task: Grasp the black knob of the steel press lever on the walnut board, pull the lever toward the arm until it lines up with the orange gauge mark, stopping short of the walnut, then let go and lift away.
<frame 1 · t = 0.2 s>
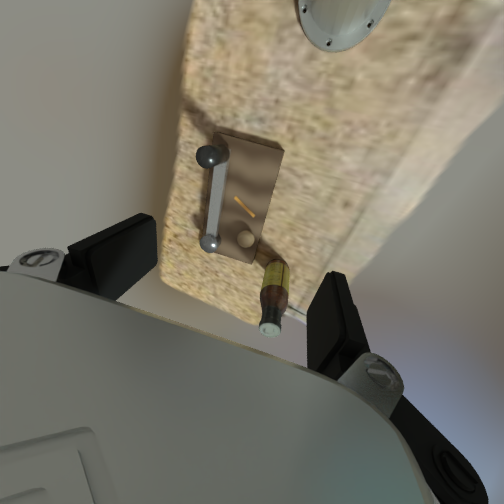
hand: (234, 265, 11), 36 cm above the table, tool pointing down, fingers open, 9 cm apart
sauce bottle: (278, 268, 54), on the table
lever: (209, 209, 41), point 7 cm above the table, hinge at 0.0°
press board: (238, 205, 47), on the table
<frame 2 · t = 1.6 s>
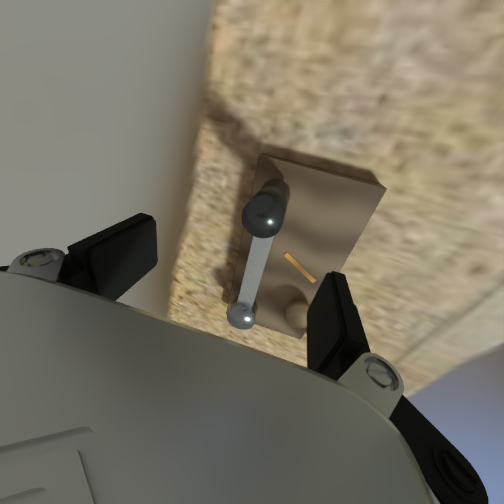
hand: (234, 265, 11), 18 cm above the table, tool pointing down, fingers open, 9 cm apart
lever: (249, 280, 25), point 7 cm above the table, hinge at 0.0°
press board: (285, 260, 31), on the table
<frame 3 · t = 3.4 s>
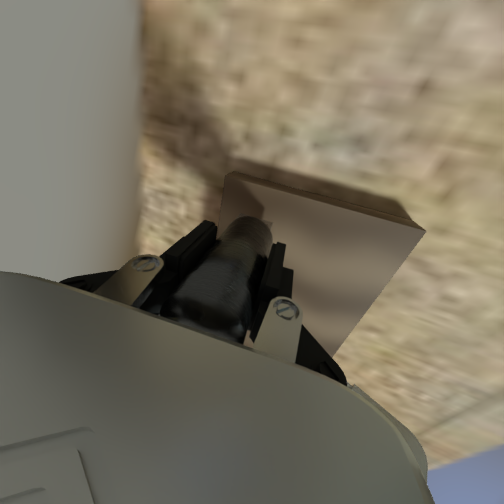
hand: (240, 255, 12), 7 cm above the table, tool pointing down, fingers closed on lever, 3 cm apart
lever: (216, 360, 17), point 7 cm above the table, hinge at 0.0°, touching gripper
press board: (273, 312, 23), on the table
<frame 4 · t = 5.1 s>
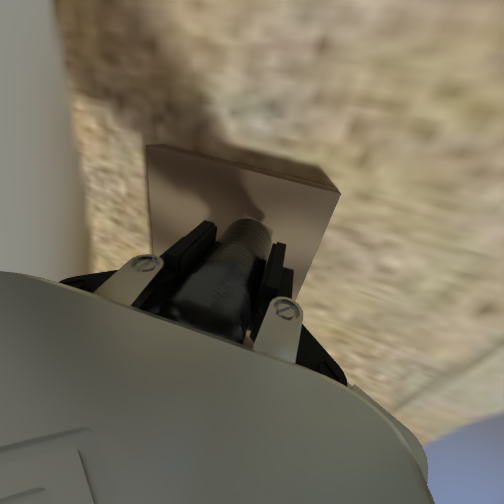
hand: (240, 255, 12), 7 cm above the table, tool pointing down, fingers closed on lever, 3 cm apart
lever: (182, 348, 17), point 7 cm above the table, hinge at 17.4°, touching gripper
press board: (224, 293, 23), on the table
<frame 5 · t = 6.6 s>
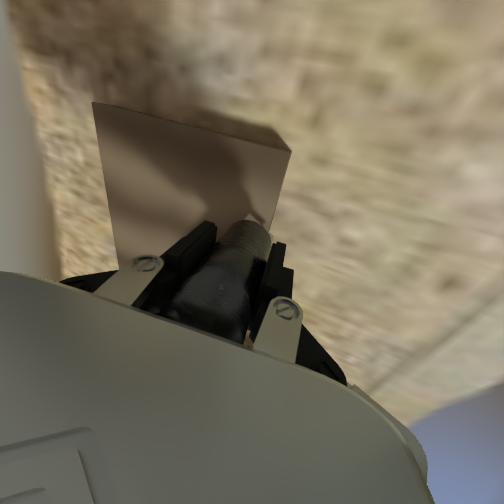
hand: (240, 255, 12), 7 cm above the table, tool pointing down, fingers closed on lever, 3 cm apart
lever: (157, 333, 16), point 7 cm above the table, hinge at 29.9°, touching gripper
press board: (190, 270, 22), on the table
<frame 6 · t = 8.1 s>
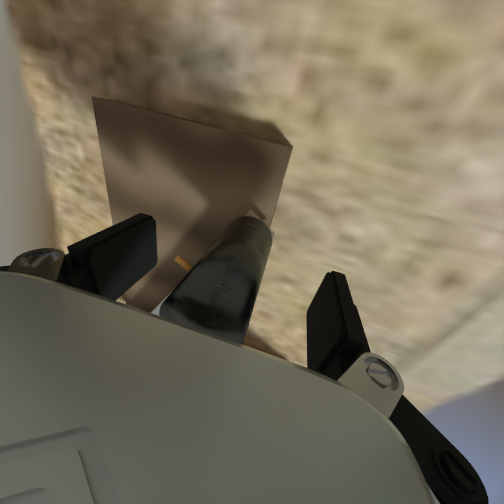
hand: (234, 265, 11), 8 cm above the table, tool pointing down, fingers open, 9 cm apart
lever: (158, 329, 16), point 7 cm above the table, hinge at 29.9°
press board: (191, 267, 22), on the table
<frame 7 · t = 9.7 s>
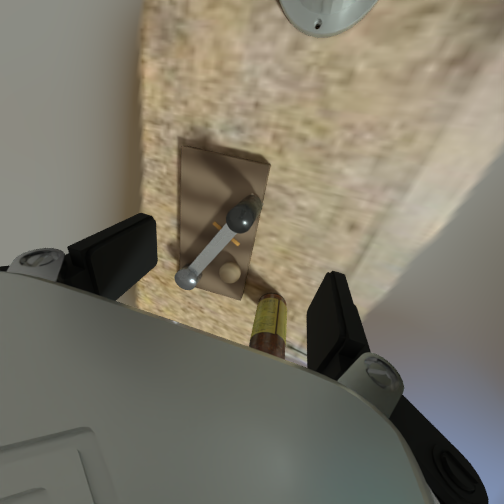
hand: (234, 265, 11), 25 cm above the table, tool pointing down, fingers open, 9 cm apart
sauce bottle: (273, 303, 44), on the table
lever: (208, 254, 33), point 7 cm above the table, hinge at 29.9°
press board: (219, 231, 39), on the table
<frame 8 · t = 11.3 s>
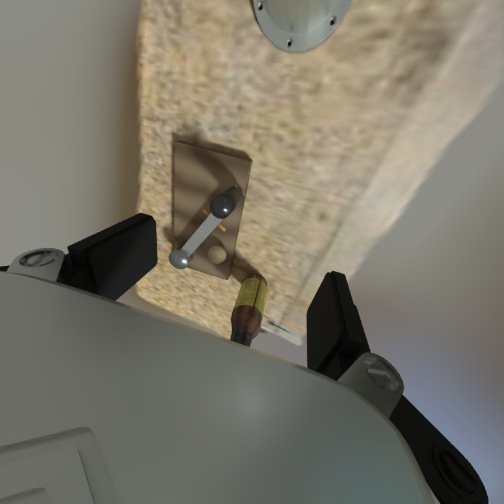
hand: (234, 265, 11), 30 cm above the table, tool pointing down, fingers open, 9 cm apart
sauce bottle: (256, 283, 50), on the table
lever: (197, 237, 38), point 7 cm above the table, hinge at 29.9°
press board: (208, 218, 44), on the table
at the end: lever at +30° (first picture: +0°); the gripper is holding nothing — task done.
